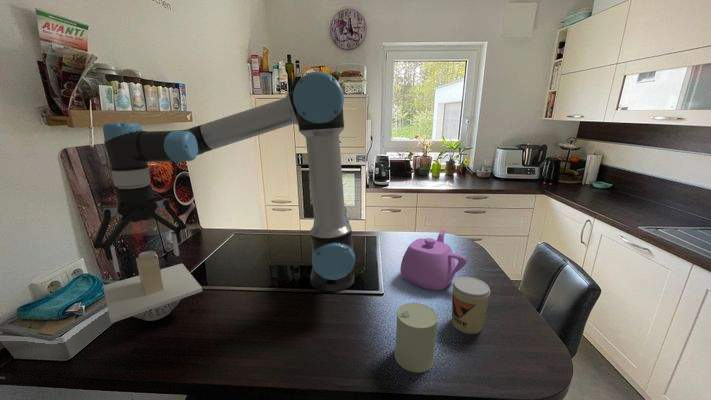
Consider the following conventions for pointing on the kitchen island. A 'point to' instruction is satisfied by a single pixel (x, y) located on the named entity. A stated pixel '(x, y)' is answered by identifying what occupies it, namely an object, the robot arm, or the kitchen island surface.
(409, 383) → the kitchen island surface
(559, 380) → the kitchen island surface
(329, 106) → the robot arm
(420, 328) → the can
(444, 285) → the teapot
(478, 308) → the cream canister
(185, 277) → the lid
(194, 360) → the kitchen island surface
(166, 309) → the bowl
